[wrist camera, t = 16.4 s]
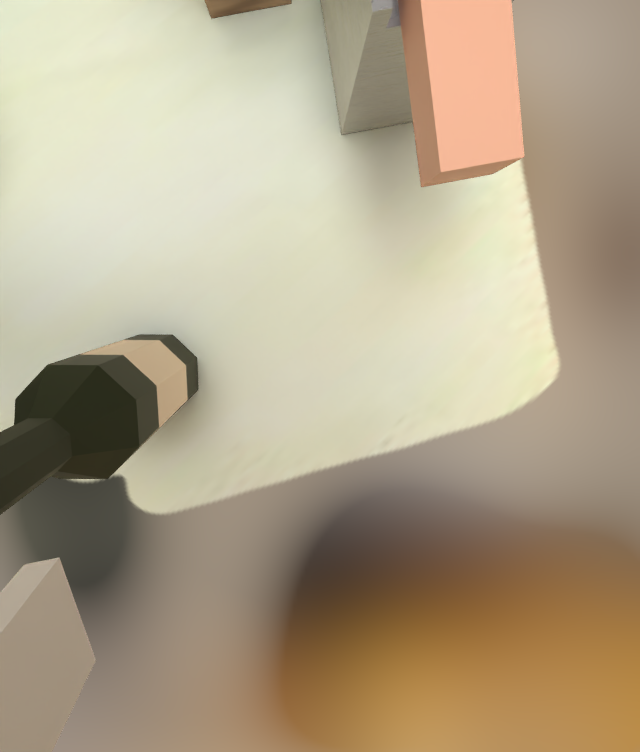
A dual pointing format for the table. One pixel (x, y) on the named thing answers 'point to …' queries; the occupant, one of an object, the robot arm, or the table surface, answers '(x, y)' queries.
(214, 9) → the post
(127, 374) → the wine bottle
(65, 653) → the robot arm
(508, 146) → the bar
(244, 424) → the table surface
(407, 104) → the block
